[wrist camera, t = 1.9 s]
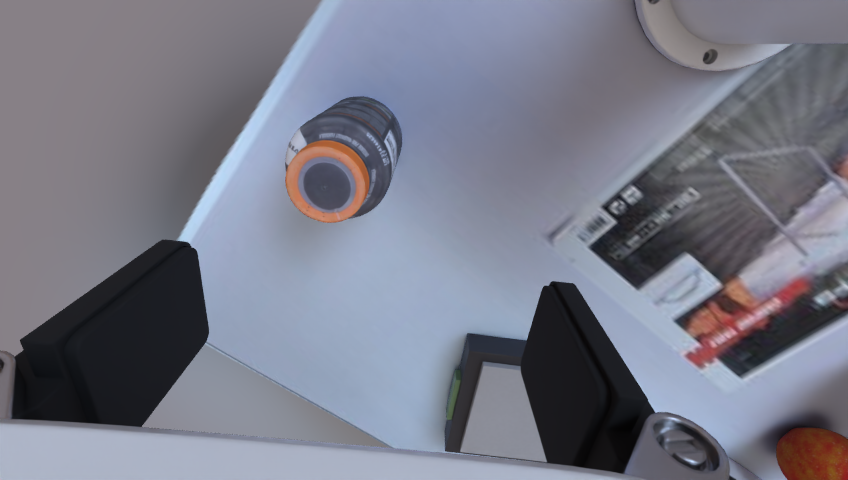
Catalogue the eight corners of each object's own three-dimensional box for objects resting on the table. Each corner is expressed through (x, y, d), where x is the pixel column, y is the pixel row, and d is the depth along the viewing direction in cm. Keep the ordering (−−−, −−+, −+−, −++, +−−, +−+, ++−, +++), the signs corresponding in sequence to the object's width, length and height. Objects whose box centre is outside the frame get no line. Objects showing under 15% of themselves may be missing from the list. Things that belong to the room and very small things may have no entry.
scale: (462, 332, 37) (464, 354, 34) (590, 348, 38) (602, 372, 35) (440, 430, 43) (440, 456, 41) (550, 444, 44) (558, 470, 41)
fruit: (837, 441, 42) (918, 522, 35) (768, 463, 44) (832, 544, 37) (825, 402, 40) (910, 481, 32) (752, 427, 42) (817, 506, 34)
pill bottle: (307, 133, 29) (237, 180, 19) (362, 76, 27) (318, 95, 17) (364, 190, 31) (328, 261, 21) (419, 141, 29) (409, 192, 19)
